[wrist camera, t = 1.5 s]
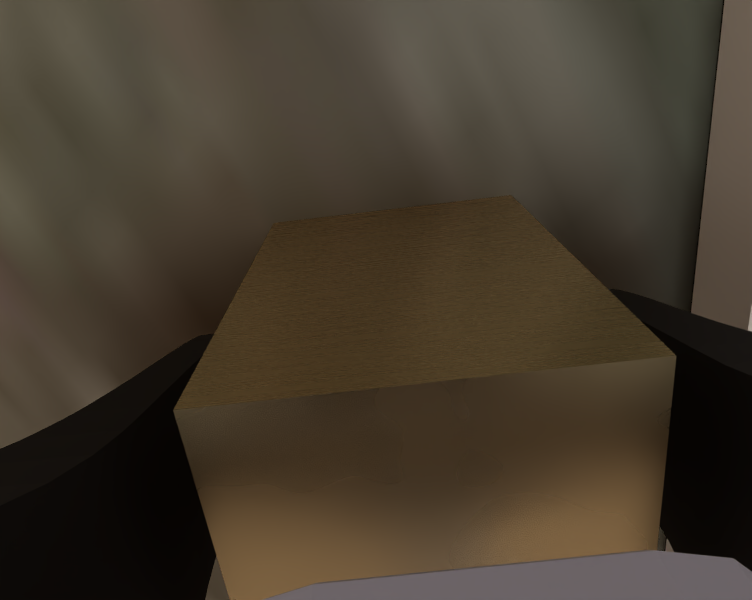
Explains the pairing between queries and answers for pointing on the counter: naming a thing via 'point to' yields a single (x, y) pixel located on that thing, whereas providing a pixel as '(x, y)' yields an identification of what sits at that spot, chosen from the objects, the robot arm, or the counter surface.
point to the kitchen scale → (728, 183)
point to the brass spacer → (423, 403)
